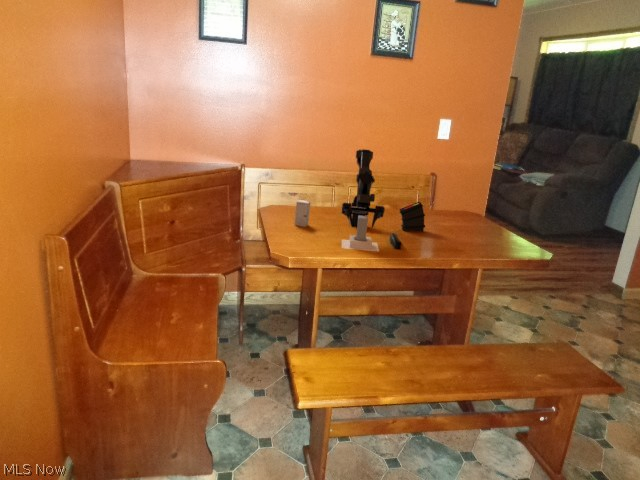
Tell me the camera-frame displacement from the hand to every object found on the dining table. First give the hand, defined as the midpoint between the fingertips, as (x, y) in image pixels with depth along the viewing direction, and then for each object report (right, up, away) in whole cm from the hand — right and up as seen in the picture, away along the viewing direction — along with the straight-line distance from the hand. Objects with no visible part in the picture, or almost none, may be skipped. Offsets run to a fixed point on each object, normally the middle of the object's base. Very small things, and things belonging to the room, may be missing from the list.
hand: (361, 226), depth 202 cm
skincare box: (-27, +1, +27) cm, 38 cm away
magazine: (+28, -1, +33) cm, 43 cm away
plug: (-1, -8, +1) cm, 8 cm away
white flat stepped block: (-1, -9, +2) cm, 9 cm away
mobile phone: (+15, -9, +8) cm, 19 cm away
